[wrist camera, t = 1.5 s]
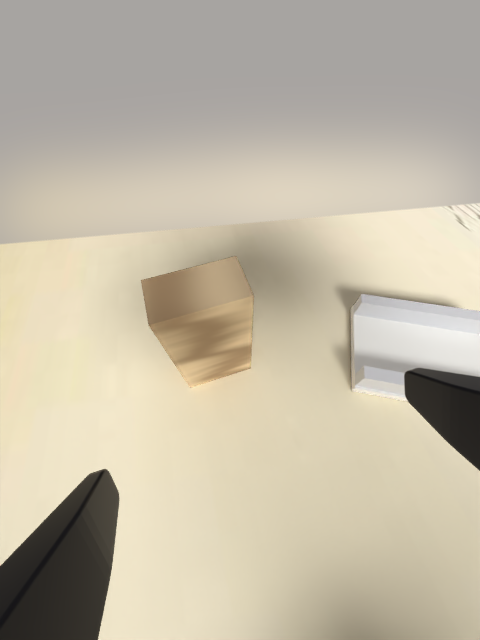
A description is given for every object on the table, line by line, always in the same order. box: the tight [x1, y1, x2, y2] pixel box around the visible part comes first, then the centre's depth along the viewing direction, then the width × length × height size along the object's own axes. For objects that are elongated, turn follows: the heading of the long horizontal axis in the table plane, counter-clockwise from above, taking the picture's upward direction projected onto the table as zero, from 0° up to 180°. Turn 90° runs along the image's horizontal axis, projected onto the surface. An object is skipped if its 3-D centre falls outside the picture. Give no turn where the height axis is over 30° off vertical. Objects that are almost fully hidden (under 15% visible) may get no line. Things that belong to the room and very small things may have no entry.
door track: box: [351, 294, 480, 402], centre depth 22 cm, size 11×8×3 cm
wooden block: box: [141, 256, 254, 388], centre depth 19 cm, size 6×3×11 cm, turn 108°
